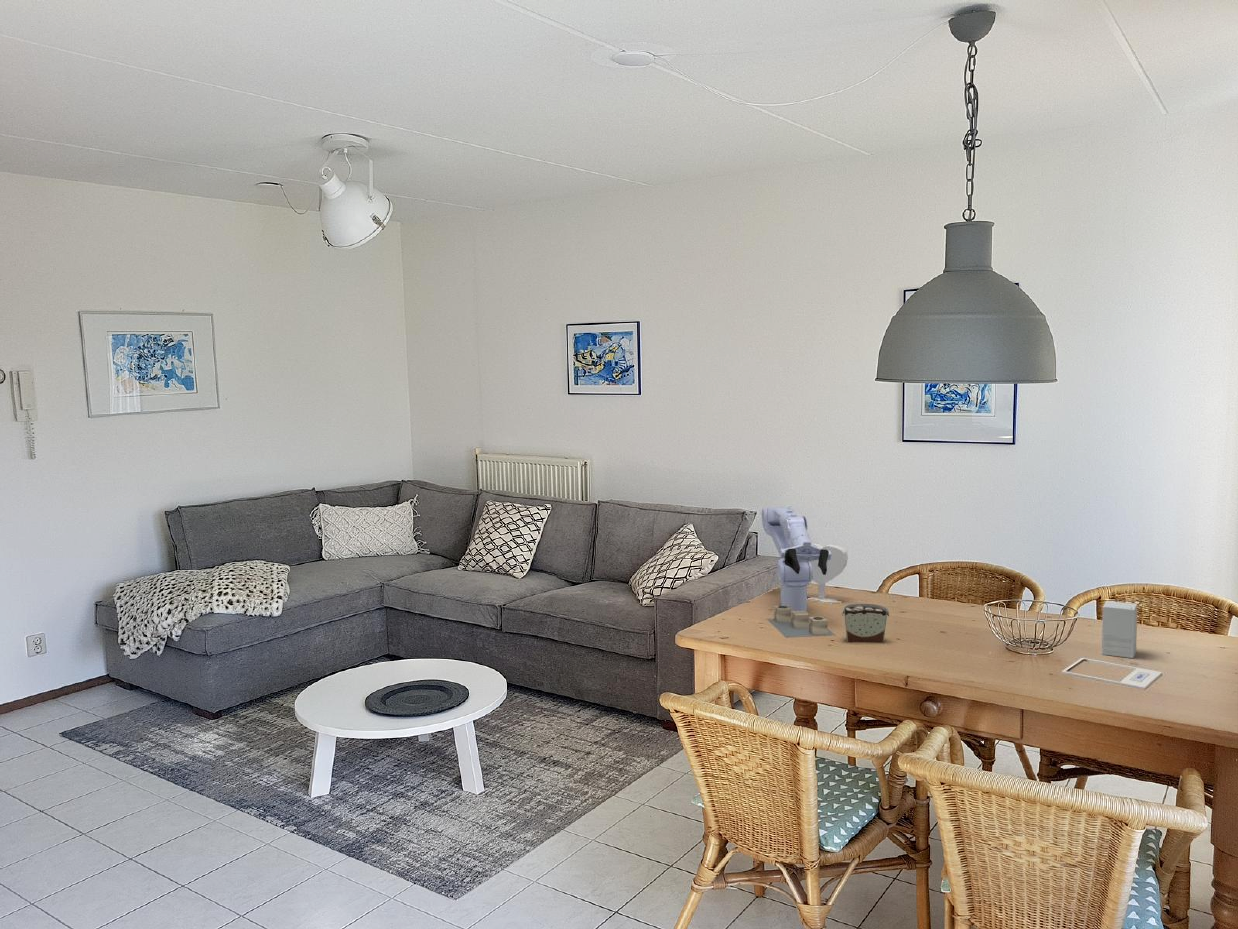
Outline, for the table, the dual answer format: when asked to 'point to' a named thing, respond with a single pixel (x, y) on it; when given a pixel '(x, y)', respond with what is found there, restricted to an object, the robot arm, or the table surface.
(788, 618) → the dotted block
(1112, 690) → the table surface
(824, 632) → the dotted block
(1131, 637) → the supplement box
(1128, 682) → the photo frame
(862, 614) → the food container
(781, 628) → the tapping mat
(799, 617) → the plain block
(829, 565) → the heart sculpture
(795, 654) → the table surface
